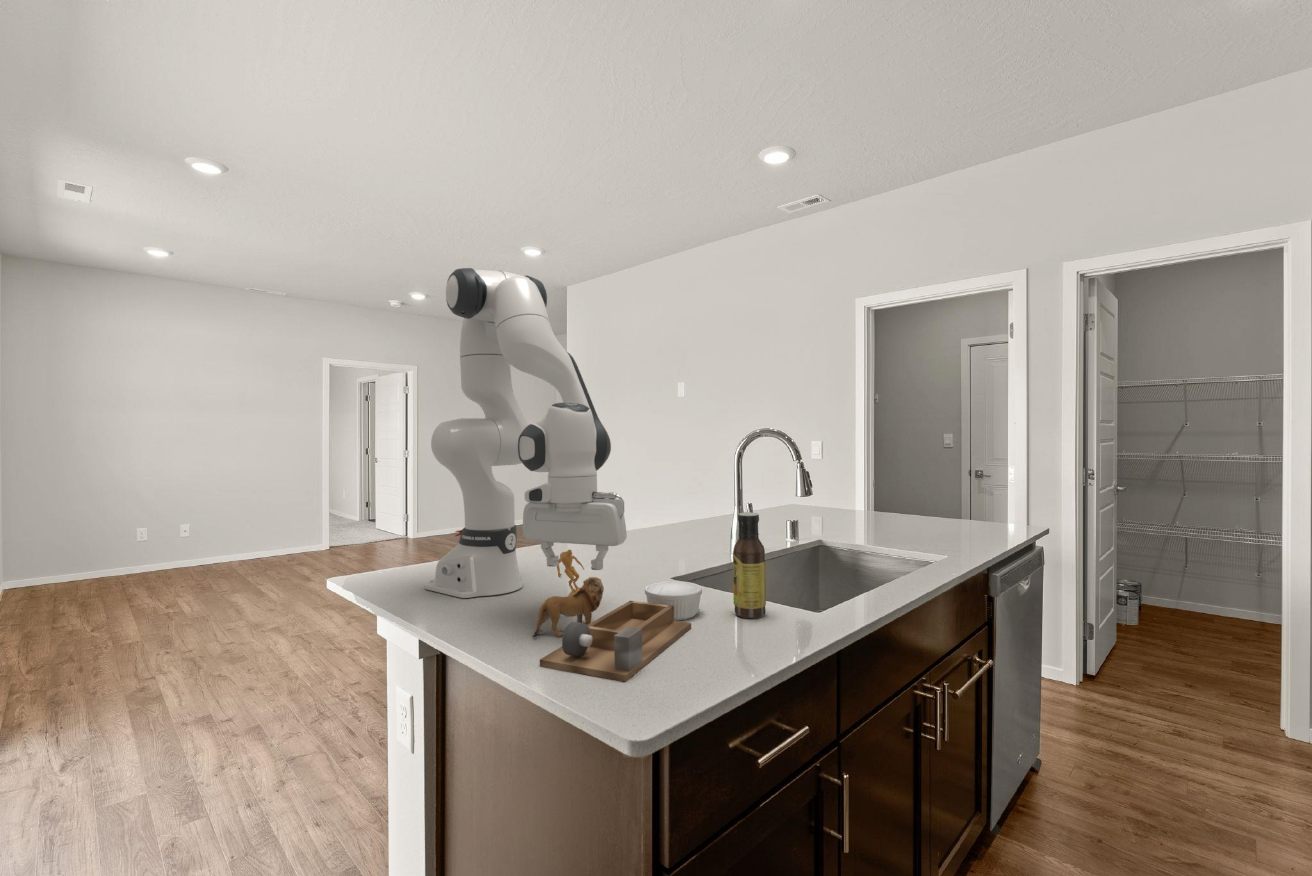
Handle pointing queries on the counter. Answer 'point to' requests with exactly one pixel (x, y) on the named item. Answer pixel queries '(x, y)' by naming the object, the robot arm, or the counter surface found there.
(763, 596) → the sauce bottle
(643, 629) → the chassis
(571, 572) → the figurine
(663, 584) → the ramekin
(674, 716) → the counter surface
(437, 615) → the counter surface
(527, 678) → the counter surface
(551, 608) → the lion figurine
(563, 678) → the counter surface
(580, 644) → the wheel
